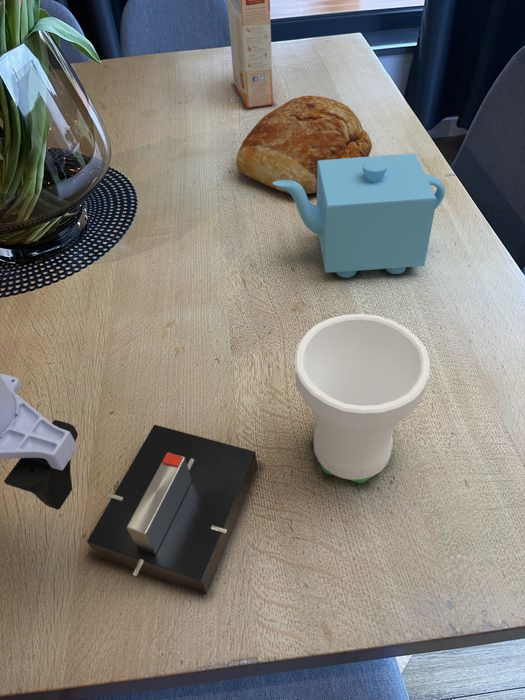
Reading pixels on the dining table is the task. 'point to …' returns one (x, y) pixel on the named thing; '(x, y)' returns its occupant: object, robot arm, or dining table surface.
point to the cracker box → (251, 50)
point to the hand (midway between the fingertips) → (22, 484)
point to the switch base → (192, 515)
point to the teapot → (370, 212)
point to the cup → (359, 389)
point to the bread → (301, 141)
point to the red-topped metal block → (160, 503)
